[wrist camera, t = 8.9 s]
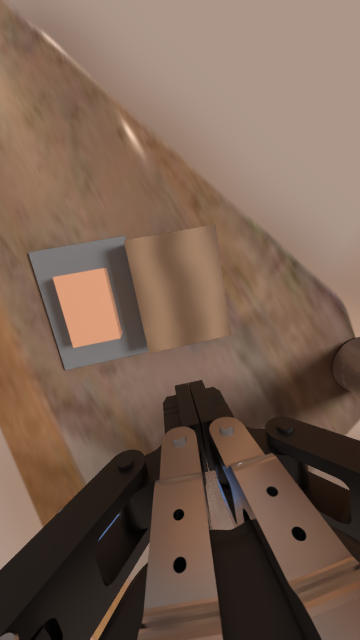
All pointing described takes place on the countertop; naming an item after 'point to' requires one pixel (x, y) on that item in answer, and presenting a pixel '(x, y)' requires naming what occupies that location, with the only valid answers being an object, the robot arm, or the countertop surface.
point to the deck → (179, 287)
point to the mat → (121, 281)
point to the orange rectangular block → (88, 307)
